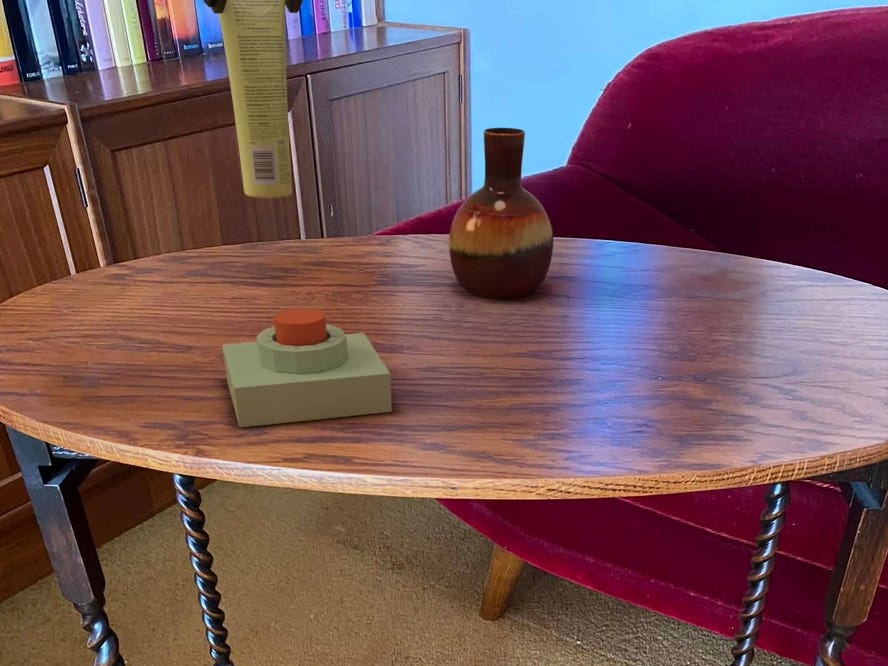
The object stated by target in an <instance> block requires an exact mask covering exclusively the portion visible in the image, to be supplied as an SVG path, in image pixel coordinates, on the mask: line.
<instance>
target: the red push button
mask: <svg viewBox="0 0 888 666" xmlns="http://www.w3.org/2000/svg"><path fill="white" fill-rule="evenodd" d="M273 323H274V326H275V333H276V342H277V343H280V344H283V345H289V346H307V345H315V344H319V343H322V342H325V341H327V330H326V324H327V319H326V314H325V312H323V311H321V310H319V309H316V308H308V307H296V308H295V307H293V308H288V309H284V310H280V311H278V312H277V313H275V314H274V316H273Z"/></svg>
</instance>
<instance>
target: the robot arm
mask: <svg viewBox="0 0 888 666" xmlns="http://www.w3.org/2000/svg"><path fill="white" fill-rule="evenodd" d="M202 1H203V3H204V4H205V5H206V6H207V7H208V8H211V12H213V14H217V15H219V14H222V13H223V11H224V8H225V5H226V2H227V0H202ZM303 1H304V0H285V8H286V9H287V11H288V13H290V14H297V13H299V11H300V9H301V7H302V4H303Z"/></svg>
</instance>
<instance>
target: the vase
mask: <svg viewBox="0 0 888 666" xmlns="http://www.w3.org/2000/svg"><path fill="white" fill-rule="evenodd" d="M525 138H526V131H525V130H523V129H520V128H515V127H490V128H486V129H484V130H483V150H484V182H483V186H482V187H480V188H479V189H477V190H475V191H474V192H472V193H471V194H470V195H468V197H467V198H466V199H465V200H464V201H463V202H462V203H461V205H460V206H459V207H458V209H457V211H456V213H455V215H454V217H453V219H452V221H451V225H450V229H449V236H448V252H449V259H450V264H451V268H452V271H453V274H454V276H455V278H456V280H457V282H458V283H459V285H460V286H461V288H462V289H463V290H465V291H466V292H467V293H468V294H470V295H473V296H475V297H479V298H484V299H491V300H513V299H520V298H524V297H528V296H530V295H532V294H534V293H535V292H536V291H537V290H538V289H539V288H540V287H541V285H542V284H543V282H544V281H545V279H546V277H547V275H548V272H549V269H550V266H551V263H552V258H553V252H554V231H553V226H552V223H551V220H550V217H549V215H548V213H547V211H546V209H545V207H544V206H543V205H542V203H541V202H540V201H539V199H537V198H536V197H535V196H534V195H533V194H532V193H531V192H530V191H528V190H526V189H524V187H523V184H522V170H523V169H522V168H523V157H524V147H525Z"/></svg>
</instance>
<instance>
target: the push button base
mask: <svg viewBox="0 0 888 666" xmlns="http://www.w3.org/2000/svg"><path fill="white" fill-rule="evenodd" d="M326 330H327V341H325V342H322V343H319V344H315V345H307V346H289V345H283V344H280V343H277V342H276V333H275V325H274V326H271V327H268V328H265V329H263V330H262V331H261V332H260V333H259V334H257V335H256V341H249V342H248V341H247V342H246V341H245V342H235V343H224V344H223V343H222V344H221V348H222V355H223V360H224V361H223V362H224V369H225V375H226V382H227V386H228V390H229V394H230V396H231V401H232V404H233V408H234V412H235V416H236V420H237V424H238V428H241V429H242V428H250V427H258V426H259V427H260V426H269V425H277V424H279V425H280V424H287V423H297V422H306V421H307V422H308V421H317V420H327V419H336V418H344V417H345V418H346V417H355V416H364V415H365V416H366V415H374V414H383V413H392V412H393V409H392V407H393V406H392V388H391V387H392V385H391V384H392V381H391V372H390V371H389V370H388V367H387V366H386V364H385V363H384V361H383V359H382V358H381V357H380V355H379V354H378V352H377V351H376V349H375V348H374V346H373V345H372V342H371V341H370V340H369V338H368V337H367V335H366V333H365V332H358V333H357V332H355V333H347V334H346V333H345V331H344V329H343V328H339V327H337V326H334V325H331V324H328V323H326Z"/></svg>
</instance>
